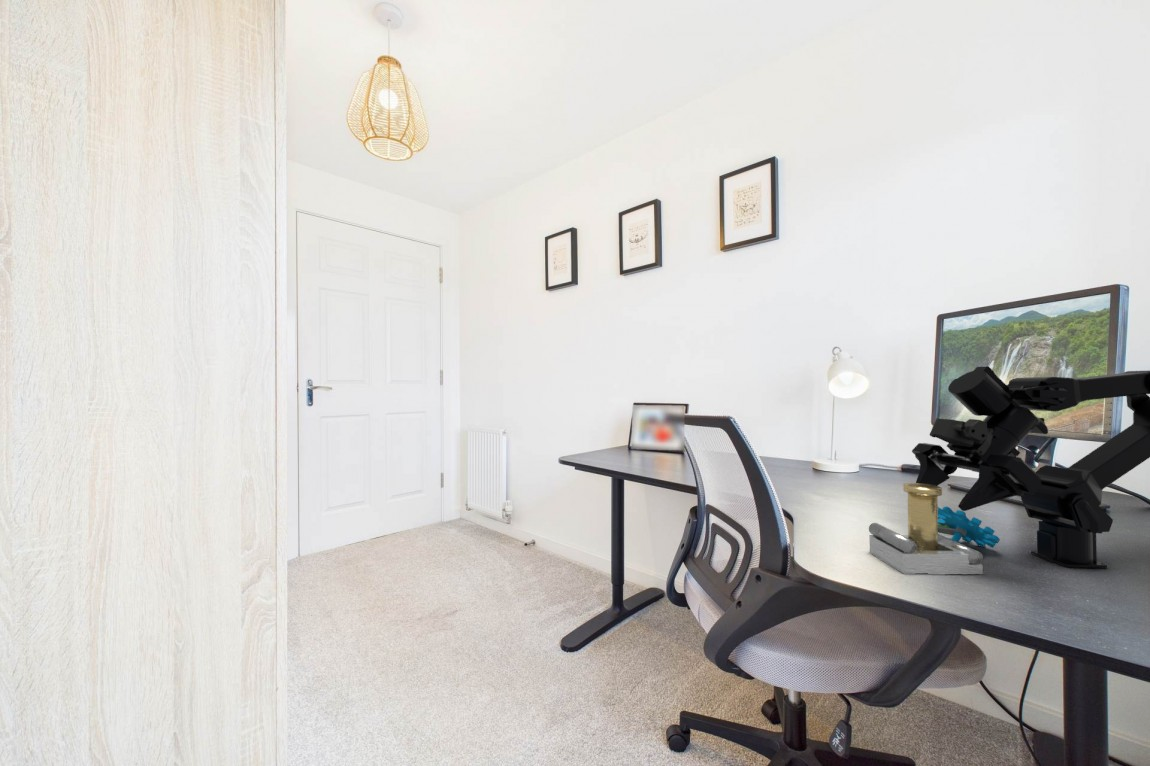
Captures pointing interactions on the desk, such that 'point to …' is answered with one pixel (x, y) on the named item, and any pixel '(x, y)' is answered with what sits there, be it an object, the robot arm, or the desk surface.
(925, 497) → the pin
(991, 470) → the robot arm
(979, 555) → the metal roller frame
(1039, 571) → the desk surface
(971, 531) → the gear
